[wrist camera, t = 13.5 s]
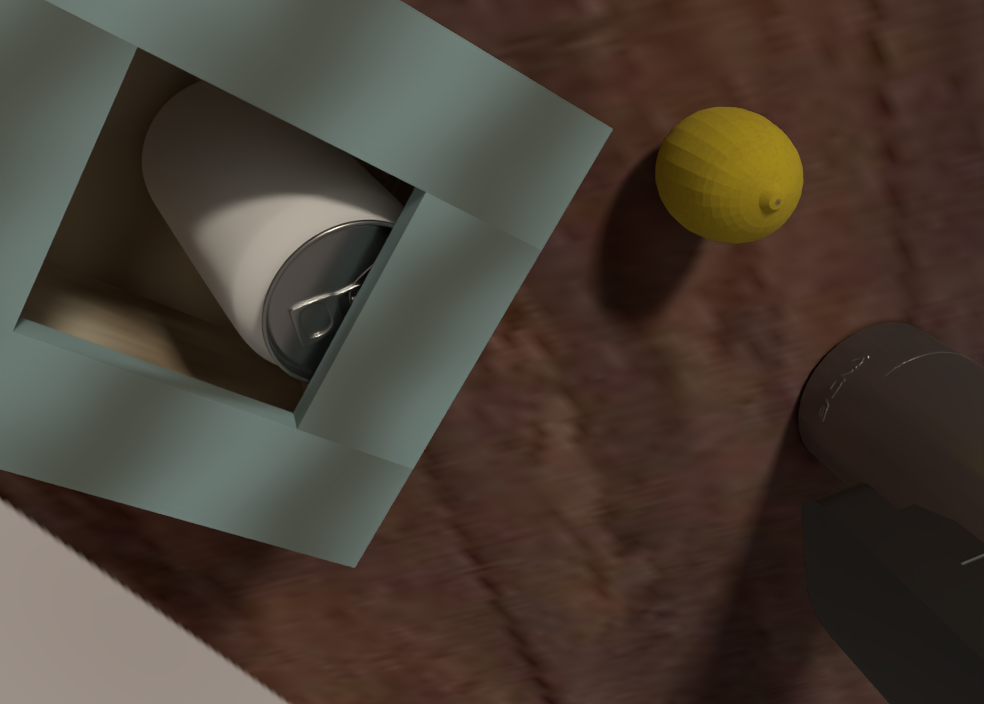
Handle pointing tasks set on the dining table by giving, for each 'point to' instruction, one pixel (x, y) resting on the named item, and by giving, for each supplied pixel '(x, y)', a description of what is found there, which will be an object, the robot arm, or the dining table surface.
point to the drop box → (189, 302)
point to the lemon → (729, 175)
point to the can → (267, 219)
